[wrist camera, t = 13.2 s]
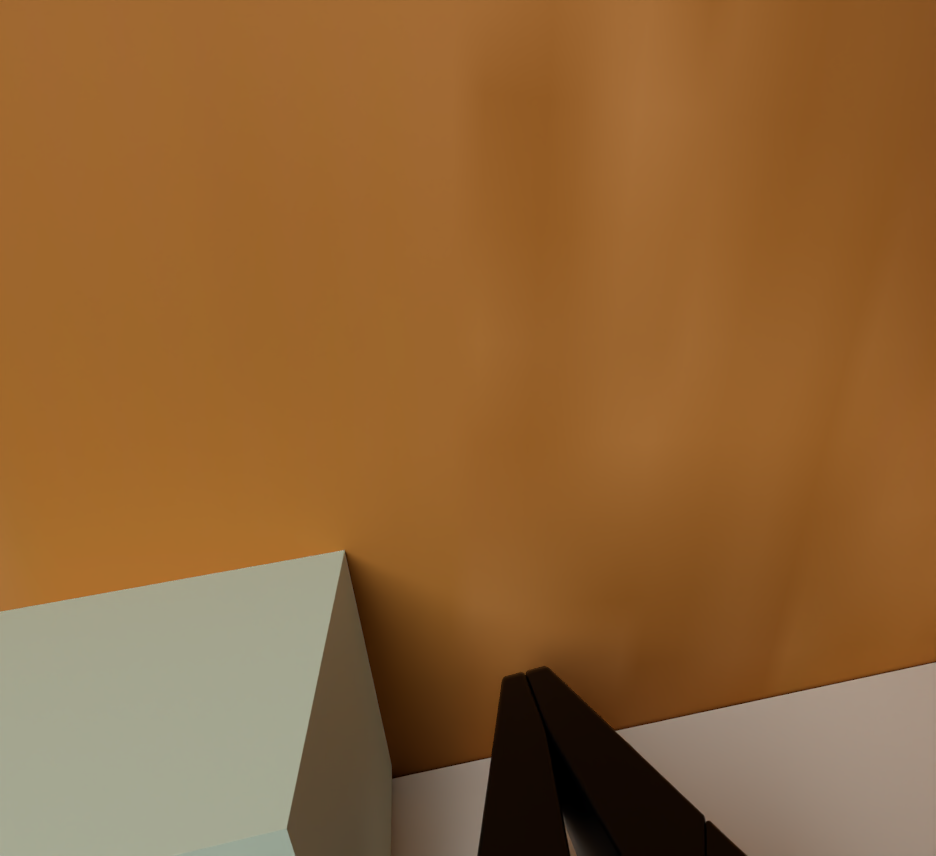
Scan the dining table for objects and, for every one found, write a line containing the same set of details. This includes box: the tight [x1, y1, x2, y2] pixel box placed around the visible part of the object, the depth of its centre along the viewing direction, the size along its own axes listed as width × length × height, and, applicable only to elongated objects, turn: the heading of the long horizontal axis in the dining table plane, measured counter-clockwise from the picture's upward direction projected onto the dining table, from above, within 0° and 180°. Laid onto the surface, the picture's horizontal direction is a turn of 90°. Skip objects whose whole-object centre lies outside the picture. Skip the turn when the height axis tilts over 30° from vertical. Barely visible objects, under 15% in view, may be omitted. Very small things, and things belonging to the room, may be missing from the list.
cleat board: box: [391, 662, 936, 856], centre depth 9 cm, size 9×31×4 cm, turn 95°
